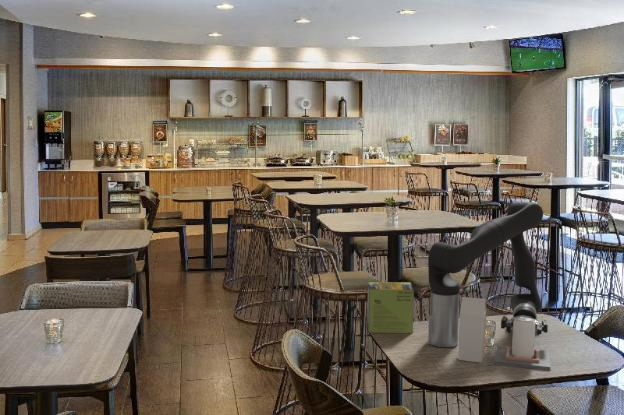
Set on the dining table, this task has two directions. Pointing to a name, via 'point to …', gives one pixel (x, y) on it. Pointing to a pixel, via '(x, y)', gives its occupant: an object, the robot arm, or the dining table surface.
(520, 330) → the can
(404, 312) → the protein box
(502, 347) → the seat plate
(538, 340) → the dining table surface
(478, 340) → the milk carton
